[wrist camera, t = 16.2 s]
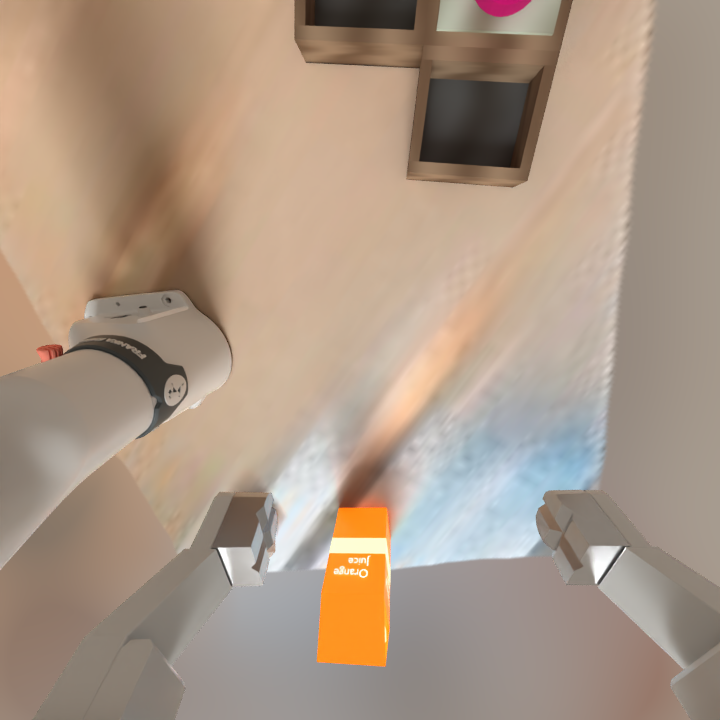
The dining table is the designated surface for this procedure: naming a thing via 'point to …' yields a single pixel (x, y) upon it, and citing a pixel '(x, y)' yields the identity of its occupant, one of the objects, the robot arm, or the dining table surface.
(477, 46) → the box
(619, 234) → the dining table surface
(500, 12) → the pepper mill
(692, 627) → the robot arm
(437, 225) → the dining table surface
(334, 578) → the orange juice
